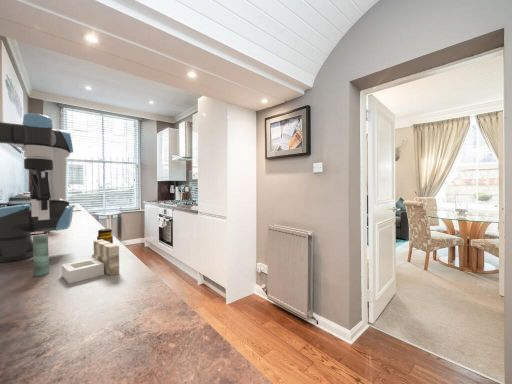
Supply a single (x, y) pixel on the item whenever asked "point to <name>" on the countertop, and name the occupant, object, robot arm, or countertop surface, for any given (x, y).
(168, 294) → the countertop surface
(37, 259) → the dowel
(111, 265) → the wall
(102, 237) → the condiment
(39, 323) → the countertop surface
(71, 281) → the socket block
